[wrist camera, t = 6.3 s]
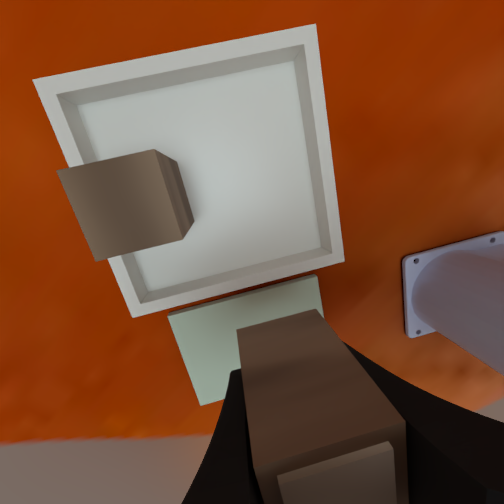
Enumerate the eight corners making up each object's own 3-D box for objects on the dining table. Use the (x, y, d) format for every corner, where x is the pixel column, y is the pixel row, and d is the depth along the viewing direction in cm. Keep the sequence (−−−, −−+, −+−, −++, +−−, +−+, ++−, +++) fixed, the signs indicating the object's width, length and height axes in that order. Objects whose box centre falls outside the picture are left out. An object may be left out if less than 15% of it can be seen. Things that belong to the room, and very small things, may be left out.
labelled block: (325, 373, 13) (414, 528, 7) (253, 394, 13) (283, 573, 7) (315, 308, 12) (411, 429, 6) (236, 329, 12) (254, 476, 6)
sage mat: (314, 273, 20) (317, 276, 20) (328, 362, 23) (331, 367, 22) (168, 312, 19) (167, 316, 19) (201, 400, 22) (200, 405, 21)
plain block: (176, 161, 16) (154, 148, 10) (194, 221, 17) (182, 239, 11) (115, 175, 16) (56, 170, 10) (137, 235, 17) (95, 261, 11)
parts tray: (300, 48, 16) (315, 23, 13) (329, 252, 20) (344, 261, 17) (62, 96, 15) (32, 79, 12) (143, 300, 19) (132, 317, 16)
